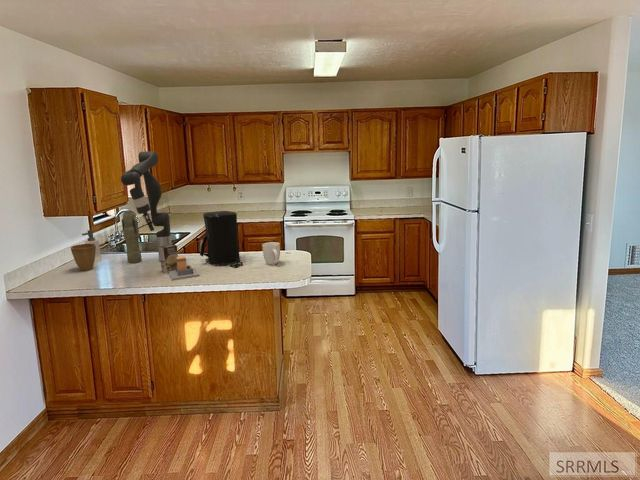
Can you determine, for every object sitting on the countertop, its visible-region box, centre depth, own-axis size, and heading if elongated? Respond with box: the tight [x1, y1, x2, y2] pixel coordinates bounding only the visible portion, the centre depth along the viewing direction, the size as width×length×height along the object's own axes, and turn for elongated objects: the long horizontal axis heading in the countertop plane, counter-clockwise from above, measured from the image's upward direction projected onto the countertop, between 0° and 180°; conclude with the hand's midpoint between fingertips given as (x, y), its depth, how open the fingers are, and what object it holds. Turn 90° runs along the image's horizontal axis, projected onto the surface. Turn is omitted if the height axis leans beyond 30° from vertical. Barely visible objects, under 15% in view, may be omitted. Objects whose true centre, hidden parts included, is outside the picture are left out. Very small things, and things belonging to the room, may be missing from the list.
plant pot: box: [70, 243, 96, 272], centre depth 308 cm, size 15×15×16 cm
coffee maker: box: [199, 210, 244, 268], centre depth 308 cm, size 23×32×34 cm
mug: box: [261, 241, 281, 266], centre depth 300 cm, size 15×11×13 cm
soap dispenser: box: [81, 229, 102, 263], centre depth 328 cm, size 6×9×22 cm
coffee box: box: [159, 244, 179, 274], centre depth 296 cm, size 9×6×16 cm
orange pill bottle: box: [176, 255, 188, 271], centre depth 286 cm, size 5×5×10 cm
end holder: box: [168, 264, 200, 281], centre depth 287 cm, size 18×16×4 cm
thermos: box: [121, 210, 142, 264], centre depth 320 cm, size 9×12×35 cm
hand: (151, 228), depth 286 cm, fingers open, 8 cm apart
